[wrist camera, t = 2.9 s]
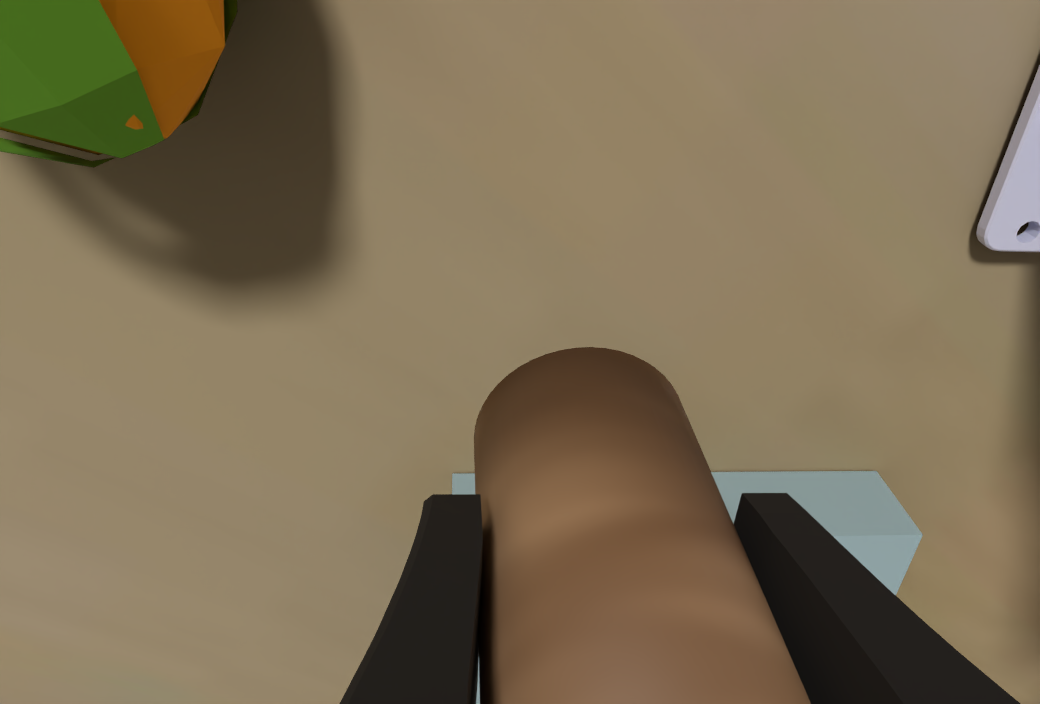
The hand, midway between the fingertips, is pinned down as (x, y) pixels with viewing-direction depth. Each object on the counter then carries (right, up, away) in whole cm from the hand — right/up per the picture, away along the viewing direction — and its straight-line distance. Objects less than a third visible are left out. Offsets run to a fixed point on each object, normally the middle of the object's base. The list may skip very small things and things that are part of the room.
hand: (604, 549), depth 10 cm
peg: (0, +1, +2) cm, 2 cm away
